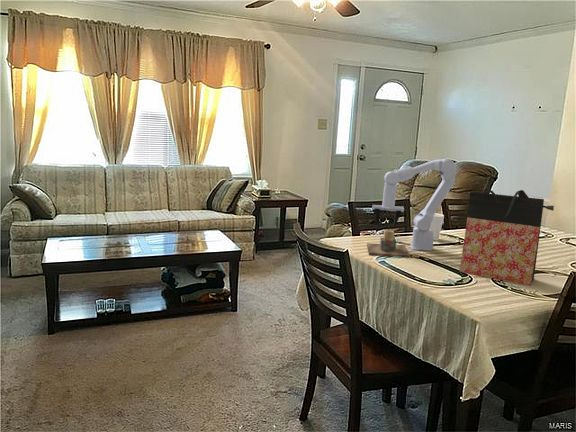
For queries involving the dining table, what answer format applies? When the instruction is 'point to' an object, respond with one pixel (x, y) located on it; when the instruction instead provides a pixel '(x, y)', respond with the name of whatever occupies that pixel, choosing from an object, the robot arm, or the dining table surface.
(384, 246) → the stand base
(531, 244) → the gift bag
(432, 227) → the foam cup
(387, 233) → the post
